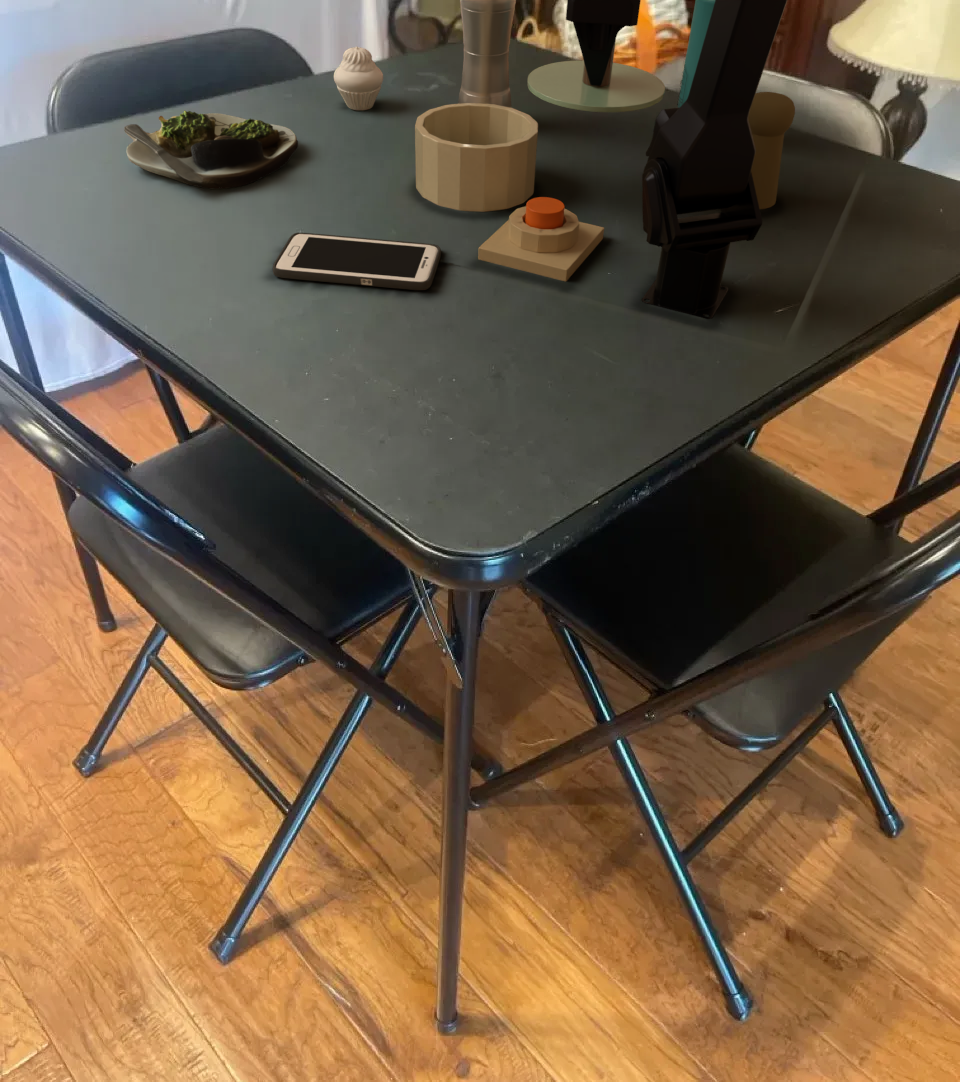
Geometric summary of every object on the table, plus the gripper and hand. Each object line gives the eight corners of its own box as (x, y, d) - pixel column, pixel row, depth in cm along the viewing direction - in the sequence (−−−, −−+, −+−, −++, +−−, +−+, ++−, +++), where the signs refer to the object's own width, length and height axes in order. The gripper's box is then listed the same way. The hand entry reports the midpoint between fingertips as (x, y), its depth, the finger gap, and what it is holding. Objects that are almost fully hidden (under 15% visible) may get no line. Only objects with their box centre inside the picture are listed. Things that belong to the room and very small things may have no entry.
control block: (565, 287, 85) (569, 251, 83) (477, 264, 88) (478, 229, 85) (602, 243, 92) (606, 209, 89) (519, 223, 94) (522, 190, 92)
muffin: (335, 97, 119) (331, 38, 114) (383, 97, 120) (381, 38, 115) (335, 115, 115) (331, 54, 110) (385, 114, 115) (382, 54, 110)
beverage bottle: (713, 151, 110) (752, -43, 96) (662, 139, 112) (693, -52, 99) (732, 135, 114) (773, -53, 100) (683, 123, 116) (716, -62, 103)
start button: (554, 234, 86) (556, 216, 84) (519, 226, 87) (520, 208, 86) (568, 219, 88) (570, 201, 87) (534, 211, 89) (535, 193, 88)
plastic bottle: (520, 126, 114) (531, -63, 100) (491, 143, 110) (499, -53, 96) (476, 115, 116) (482, -72, 102) (446, 131, 112) (448, -62, 98)
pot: (503, 226, 94) (507, 156, 89) (395, 200, 97) (393, 132, 93) (550, 182, 102) (556, 116, 97) (449, 159, 106) (450, 95, 101)
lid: (636, 129, 85) (646, 64, 81) (504, 101, 89) (507, 38, 85) (680, 86, 94) (691, 26, 90) (558, 63, 98) (563, 4, 94)
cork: (776, 217, 97) (804, 108, 90) (718, 210, 98) (741, 102, 90) (774, 194, 102) (801, 88, 94) (719, 188, 102) (741, 82, 95)
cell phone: (293, 240, 90) (292, 231, 89) (442, 254, 89) (442, 244, 88) (270, 278, 84) (269, 268, 83) (429, 293, 83) (429, 283, 82)
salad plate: (78, 166, 101) (66, 122, 98) (185, 116, 113) (178, 76, 110) (220, 205, 95) (212, 160, 92) (317, 148, 107) (314, 106, 104)
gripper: (716, -84, 73) (679, 121, 83) (708, -124, 86) (677, 57, 97) (575, -94, 73) (557, 110, 84) (589, -132, 87) (572, 48, 98)
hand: (596, 79), depth 91 cm, fingers closed on lid, 3 cm apart
